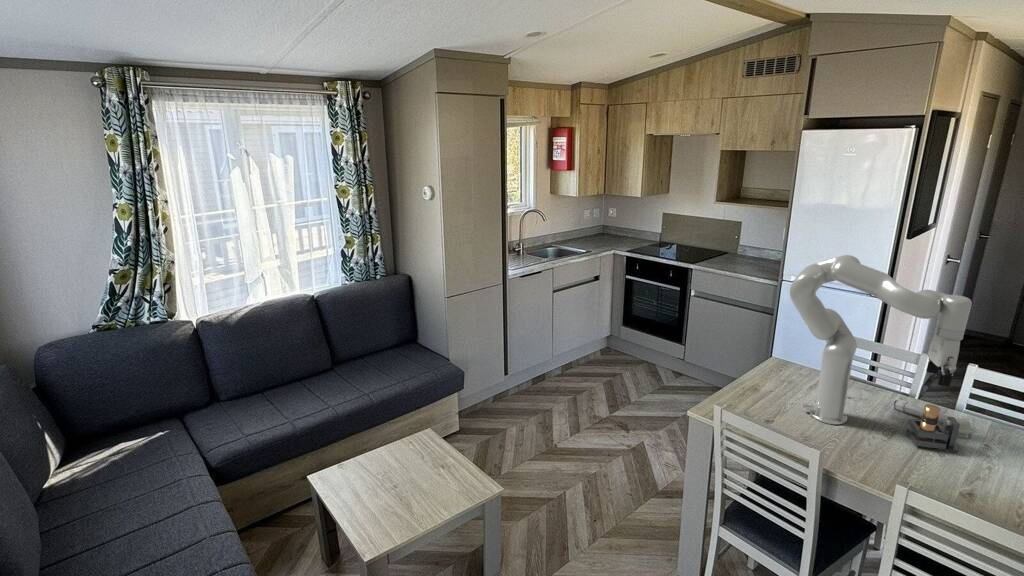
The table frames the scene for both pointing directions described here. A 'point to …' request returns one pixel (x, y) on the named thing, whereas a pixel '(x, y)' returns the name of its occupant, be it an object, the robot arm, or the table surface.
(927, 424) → the copper tube
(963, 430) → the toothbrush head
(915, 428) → the collar bracket
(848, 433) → the table surface
